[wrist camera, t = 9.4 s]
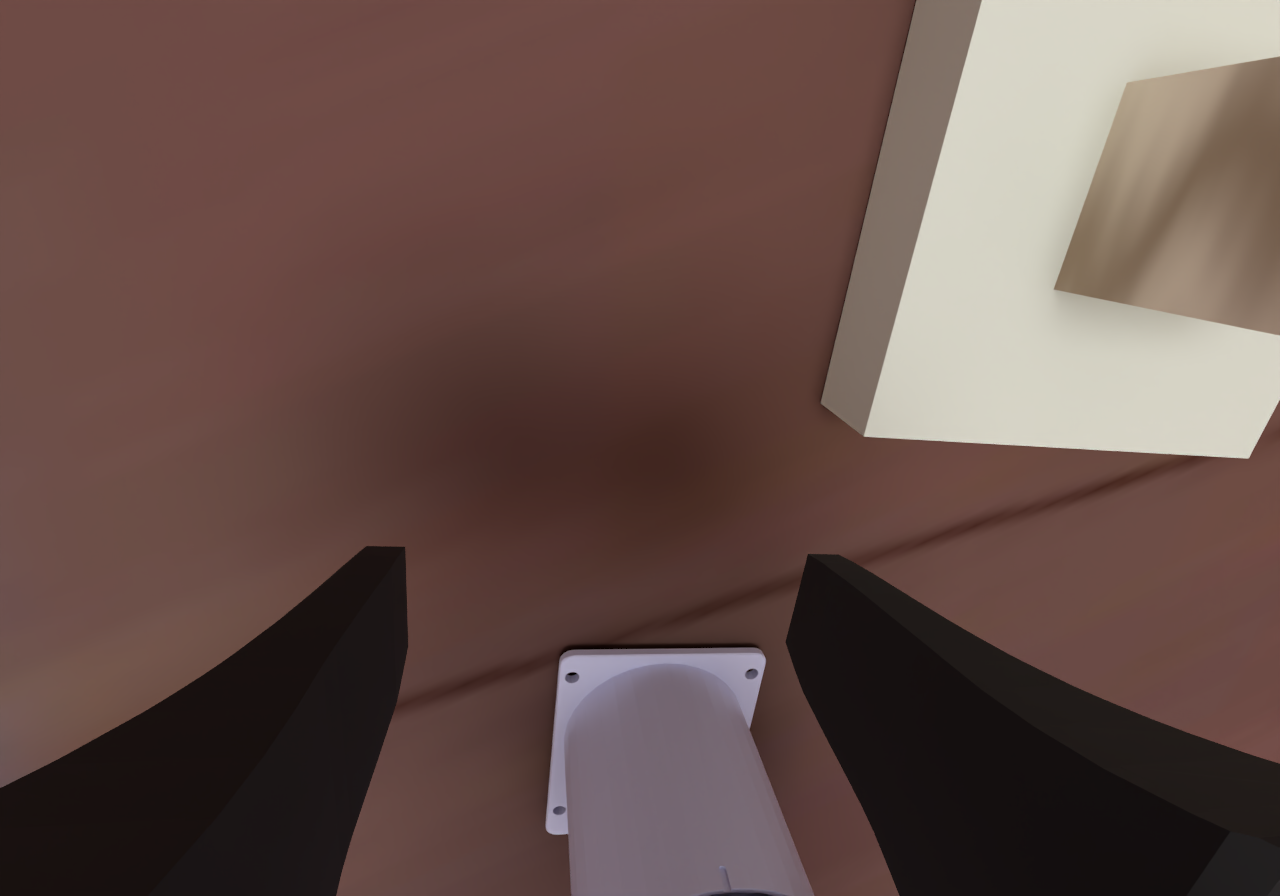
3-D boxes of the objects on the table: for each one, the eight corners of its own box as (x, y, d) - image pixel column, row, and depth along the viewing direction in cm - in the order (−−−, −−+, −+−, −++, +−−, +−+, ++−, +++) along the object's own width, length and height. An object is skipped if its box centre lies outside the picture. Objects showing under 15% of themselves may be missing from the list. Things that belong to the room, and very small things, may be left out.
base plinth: (1165, 426, 23) (1248, 458, 21) (820, 403, 21) (863, 436, 18) (1372, -21, 18) (1521, -58, 15) (946, -127, 15) (1034, -193, 13)
